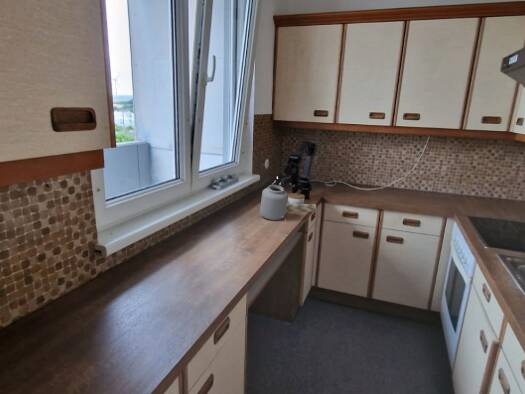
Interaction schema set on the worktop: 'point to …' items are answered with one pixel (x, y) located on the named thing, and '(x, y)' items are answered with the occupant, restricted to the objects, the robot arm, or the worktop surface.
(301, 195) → the lidded jar
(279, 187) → the jar
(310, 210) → the board
